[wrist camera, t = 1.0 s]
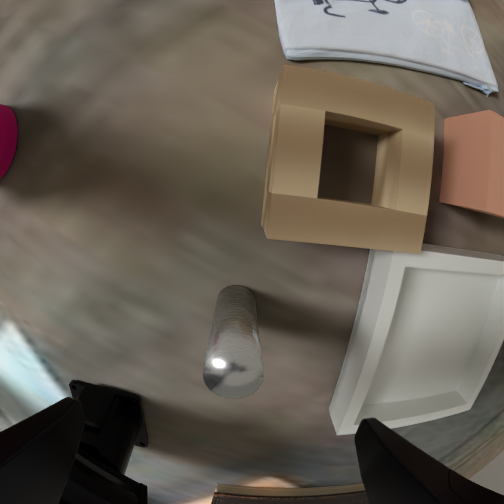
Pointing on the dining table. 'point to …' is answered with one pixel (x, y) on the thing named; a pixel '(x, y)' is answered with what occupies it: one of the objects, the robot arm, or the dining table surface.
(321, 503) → the hardcover book
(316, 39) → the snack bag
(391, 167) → the oak block
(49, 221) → the dining table surface
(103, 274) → the dining table surface
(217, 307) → the cylinder
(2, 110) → the pepper mill
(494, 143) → the rust block
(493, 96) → the dining table surface
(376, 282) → the tray
